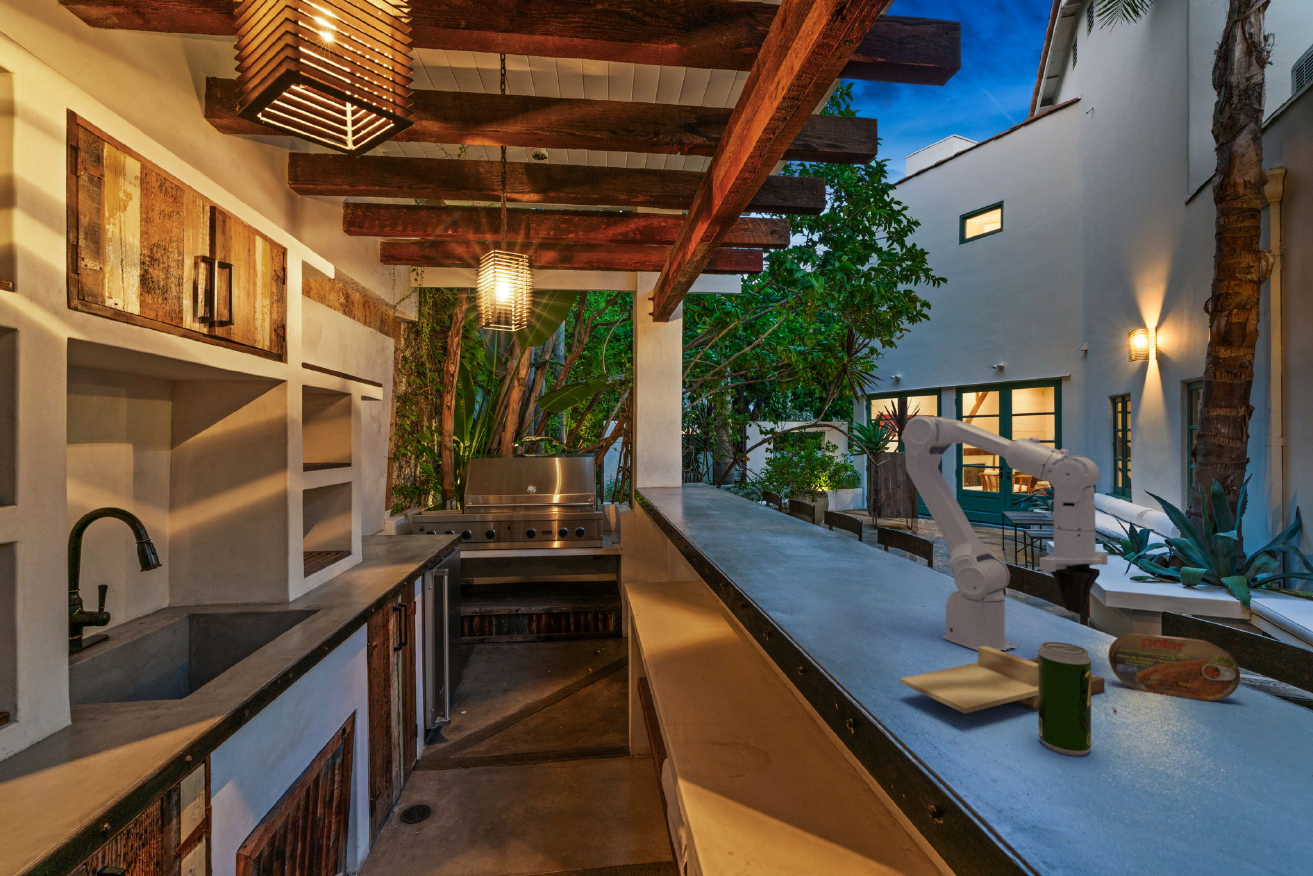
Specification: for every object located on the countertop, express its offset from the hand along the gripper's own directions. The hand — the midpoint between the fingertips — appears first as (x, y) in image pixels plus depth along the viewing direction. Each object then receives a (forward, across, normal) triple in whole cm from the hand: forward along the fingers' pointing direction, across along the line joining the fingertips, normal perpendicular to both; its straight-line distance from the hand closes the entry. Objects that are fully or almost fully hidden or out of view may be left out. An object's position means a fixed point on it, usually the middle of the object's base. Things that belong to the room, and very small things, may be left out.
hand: (1074, 611), depth 101 cm
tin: (+10, +3, -12) cm, 16 cm away
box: (+9, -14, -3) cm, 17 cm away
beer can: (+10, -28, -16) cm, 34 cm away
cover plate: (+7, -27, -3) cm, 29 cm away
